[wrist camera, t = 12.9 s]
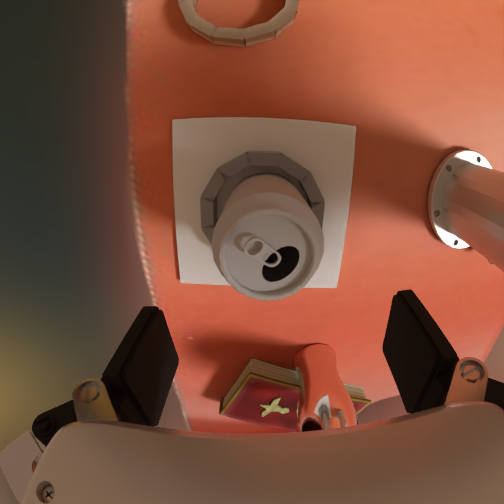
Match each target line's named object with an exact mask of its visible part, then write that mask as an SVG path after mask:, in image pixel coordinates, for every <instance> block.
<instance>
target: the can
mask: <svg viewBox="0 0 504 504" xmlns="http://www.w3.org/2000/svg"><path fill="white" fill-rule="evenodd" d="M211 246H212V252H213V258H214V262H215V264H216V266H217V268H218V269H219V271H220V273H221V275H222V276H223V277H224V278H225V279H226V281H227V282H228V283H229V284H230V285H231V286H232V287H233V288H234V289H235V290H236V291H238V292H240V293H242V294H244V295H246V296H248V297H250V298H254V299H259V300H264V301H267V300H280V299H282V298H285V297H288V296H291V295H294V294H295V293H296V292H298V291H299V290H301V289H302V288H303V287H305V286H306V285H307V283H308V282H309V281H310V279H311V278H312V277H313V275H314V273H315V272H316V270H317V269H318V268H319V265H320V262H321V259H322V256H323V253H324V235H323V232H322V229H321V226H320V224H319V221H318V219H317V217H316V216H315V214H314V213H313V211H312V210H311V208H310V207H309V205H308V204H307V202H306V201H305V199H304V198H303V196H302V195H301V193H300V192H299V191H298V189H297V188H296V187H295V186H294V185H293V183H292V182H291V181H289V180H287V179H286V178H284V177H282V176H281V175H277V174H273V173H269V172H268V173H256V174H254V175H251V176H249V177H246V178H244V179H243V180H242V181H241V182H240V183H239V184H237V185H236V186H235V188H234V189H233V191H232V193H231V194H230V196H229V198H228V200H227V202H226V204H225V207H224V209H223V211H222V213H221V215H220V217H219V219H218V221H217V223H216V226H215V228H214V232H213V238H212V244H211Z"/></svg>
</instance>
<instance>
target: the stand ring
mask: <svg viewBox="0 0 504 504" xmlns="http://www.w3.org/2000/svg"><path fill="white" fill-rule="evenodd" d="M197 1H198V0H178V5H179V7H180V9H181V11H182V14H183V16H184V18H185V20H186V23H187V24H188V25H189V27H190V28H191V30H192V31H193V32H195V33H196V34H198V35H200V36H202V37H203V38H205V39H207V40H208V41H210V42H212V43H213V44H216V45H226V46H237V47H245V45H246V47H249V46H252V45H255V44H259V43H262V42H265V41H269V40H272V39H274V38H276V37H277V36H279V35H280V34H281V33H282V32H283V31H284V30H285V29H286V28H287V27H288V26H289V25H290V24H292V23H293V22H294V20H295V17H296V14H297V10H298V4H299V0H286V3H285V7H284V8H283V9H282V10H281V11H280V12H278V13H277V14H276V15H275V16H274V17H273V18H272V19H271V20H269V21H268V22H265V23H261V24H258V25H254V26H251V27H247V28H244V29H240V28H229V27H217V26H215V25H213V24H211V23H210V22H208V21H206V20H204V19H202V18H200V17H199V16H198V14H197V12H196V9H195V8H196V5H197Z"/></svg>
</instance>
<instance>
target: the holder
mask: <svg viewBox="0 0 504 504" xmlns="http://www.w3.org/2000/svg"><path fill="white" fill-rule="evenodd" d="M355 140H356V126H351V125H344V124H336V123H328V122H319V121H308V120H297V119H282V118H259V117H209V118H187V119H172V153H173V188H174V208H175V224H176V238H177V250H178V262H179V272H180V282H181V283H192V284H212V285H230V284H229V283H228V282H227V281H226V279H225V278H224V277H223V276H222V275H221V273H220V271H219V269H218V268H217V266H216V264H215V262H214V258H213V252H212V246H211V244H212V238H213V232H214V228H215V226H216V223H217V221H218V219H219V217H220V215H221V213H222V211H223V209H224V207H225V204H226V202H227V200H228V198H229V196H230V194H231V193H232V191H233V189H234V188H235V186H236V185H237V184H239V183H240V182H241V181H242V180H243V179H244V178H246V177H249V176H251V175H254V174H256V173H268V172H269V173H273V174H277V175H281V176H282V177H284V178H286V179H287V180H289V181H291V182H292V183H293V185H294V186H295V187H296V188H297V189H298V191H299V192H300V193H301V195H302V196H303V198H304V199H305V201H306V202H307V204H308V205H309V207H310V208H311V210H312V211H313V213H314V214H315V216H316V217H317V219H318V221H319V224H320V226H321V229H322V232H323V235H324V253H323V256H322V259H321V262H320V265H319V268H318V269H317V270H316V272H315V273H314V275H313V277H312V278H311V279H310V281H309V282H308V283H307V285H306V286H305V287H303V288H337V283H338V278H339V272H340V267H341V261H342V255H343V248H344V242H345V235H346V228H347V221H348V213H349V205H350V197H351V188H352V178H353V167H354V155H355Z"/></svg>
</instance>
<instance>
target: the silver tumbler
mask: <svg viewBox="0 0 504 504" xmlns="http://www.w3.org/2000/svg"><path fill="white" fill-rule="evenodd" d="M294 366H295V369H296V372H297V374H298V378H299V393H298V402H297V416H296V417H297V430H298V432H307V431H317V430H326V429H334V428H342V427H348V426H355V425H358V420H357V415H356V411H355V408H354V405H353V402H352V400H351V398H350V395H349V393H348V391H347V390H346V388H345V386H344V384H343V382H342V380H341V378H340V376H339V374H338V371H337V359H336V353H335V351H334V349H333V348H332V347H330V346H328V345H325V344H313V345H309V346H307V347H305V348H303V349H301V350H300V351H299V352H298V353H297V354H296V356H295V358H294Z"/></svg>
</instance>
